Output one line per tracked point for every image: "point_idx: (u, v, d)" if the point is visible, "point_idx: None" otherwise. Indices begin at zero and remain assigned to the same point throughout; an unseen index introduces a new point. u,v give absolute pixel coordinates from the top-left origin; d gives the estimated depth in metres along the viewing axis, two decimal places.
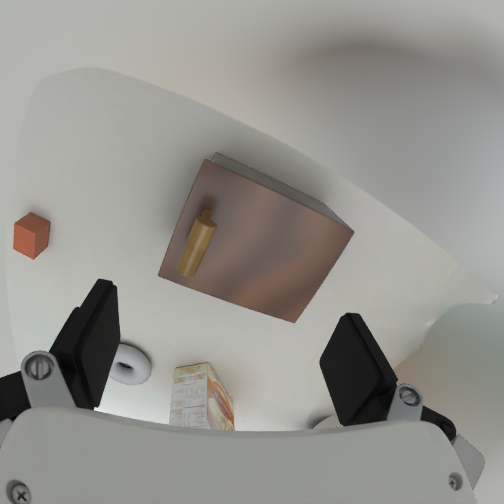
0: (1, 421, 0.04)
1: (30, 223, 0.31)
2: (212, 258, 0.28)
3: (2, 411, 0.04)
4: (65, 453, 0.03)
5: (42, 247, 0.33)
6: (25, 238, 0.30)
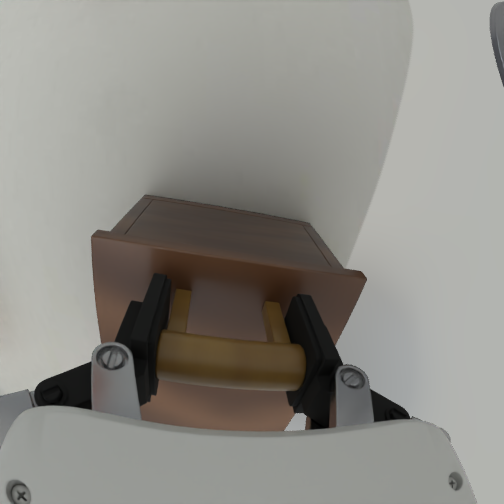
0: None
1: None
2: None
3: (72, 405, 0.05)
4: (65, 453, 0.03)
5: None
6: None
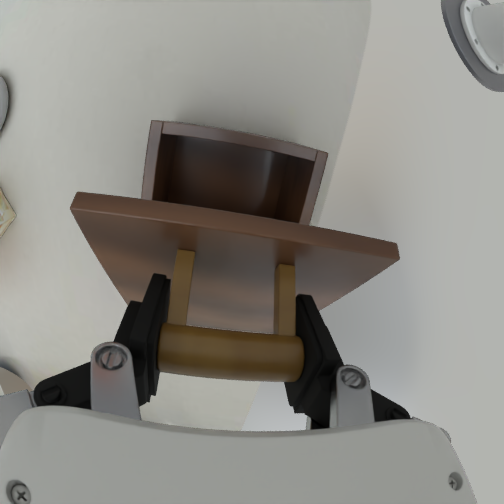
0: None
1: None
2: None
3: (71, 405, 0.05)
4: (65, 453, 0.03)
5: None
6: None
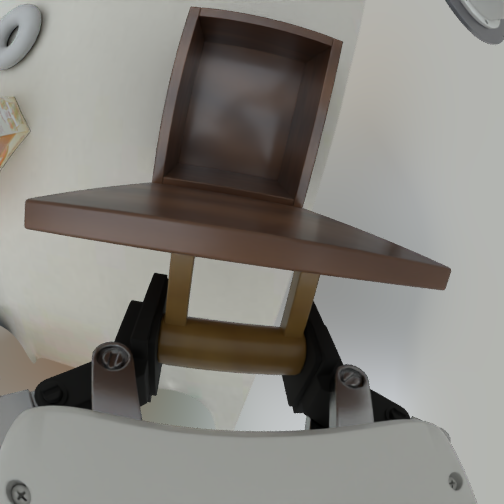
0: None
1: None
2: None
3: (72, 405, 0.05)
4: (65, 453, 0.03)
5: None
6: None
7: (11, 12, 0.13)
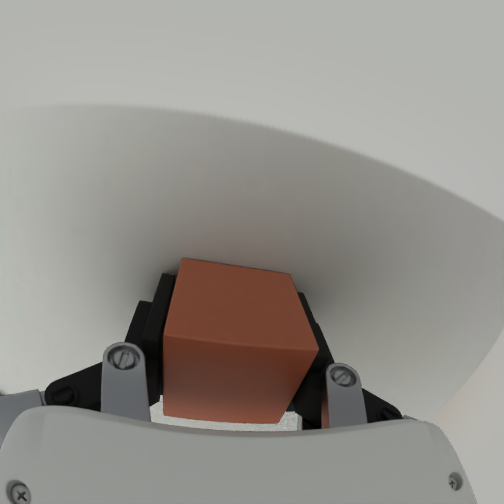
0: None
1: None
2: None
3: (84, 406, 0.05)
4: (65, 453, 0.03)
5: None
6: (247, 398, 0.08)
7: None
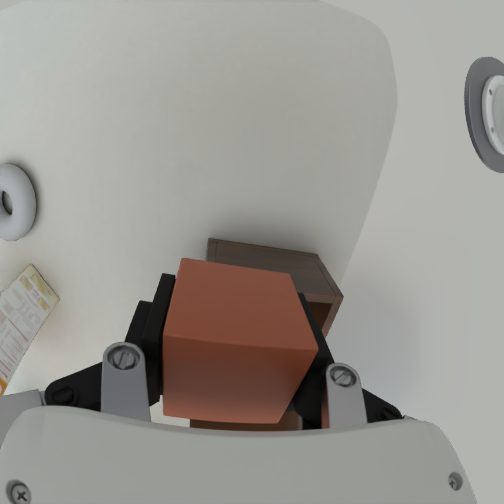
0: None
1: None
2: None
3: (84, 406, 0.05)
4: (65, 453, 0.03)
5: None
6: (247, 398, 0.08)
7: None
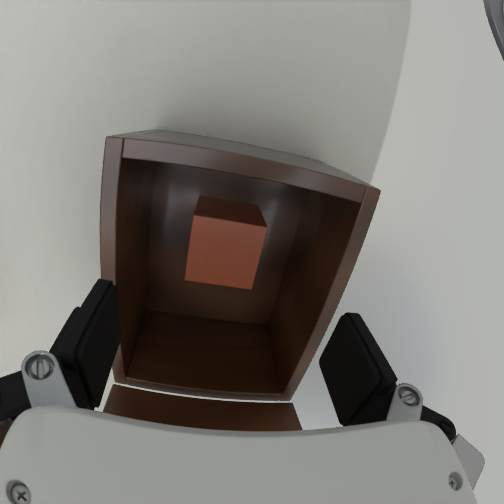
0: (1, 421, 0.04)
1: None
2: None
3: (2, 411, 0.04)
4: (65, 453, 0.03)
5: None
6: (232, 261, 0.17)
7: None
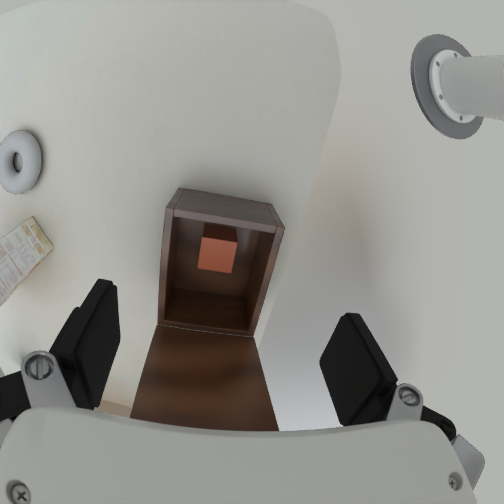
0: (1, 421, 0.04)
1: None
2: None
3: (2, 411, 0.04)
4: (65, 453, 0.03)
5: None
6: (221, 259, 0.35)
7: (10, 141, 0.26)
